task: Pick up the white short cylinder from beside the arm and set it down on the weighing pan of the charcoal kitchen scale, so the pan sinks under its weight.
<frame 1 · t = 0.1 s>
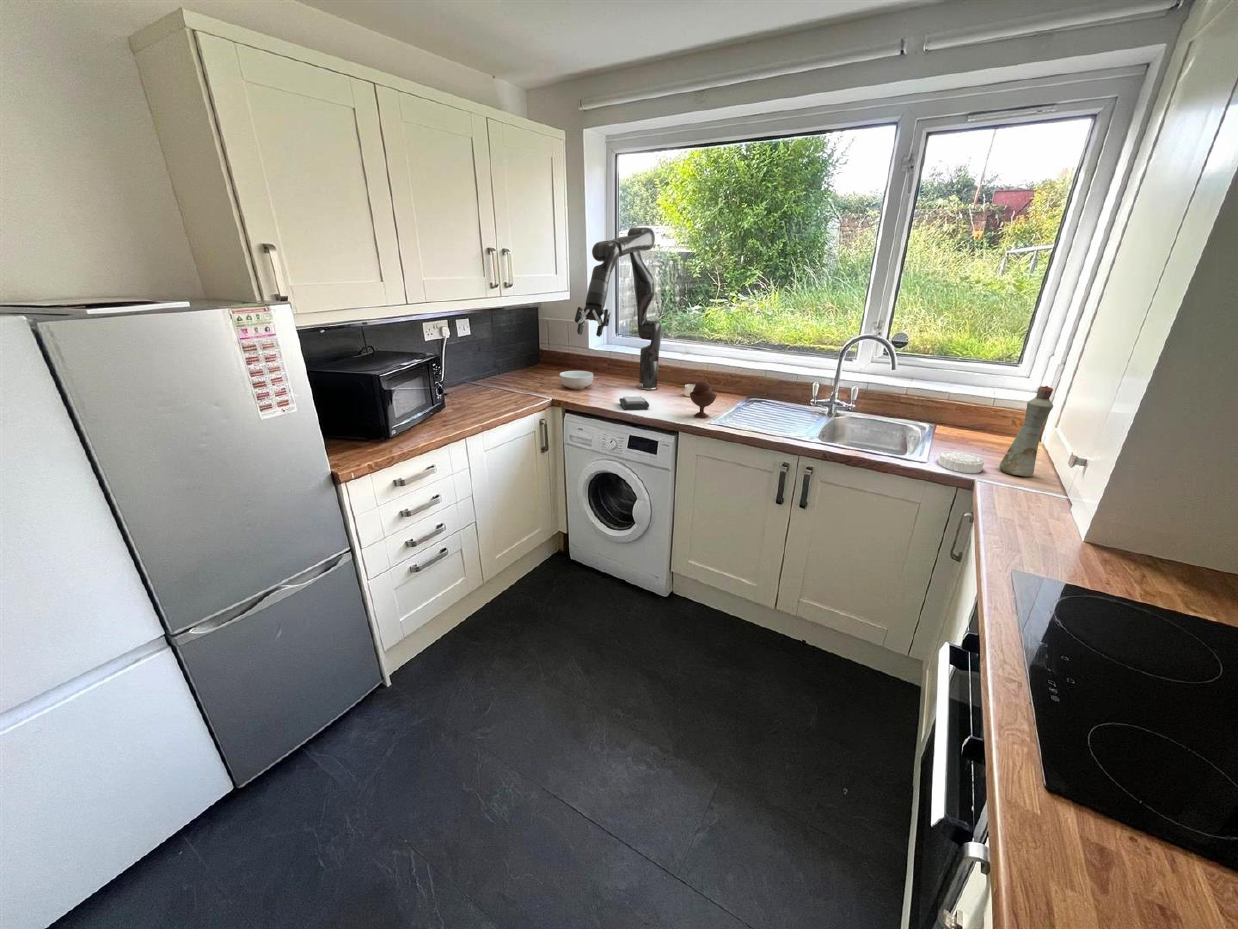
hand: (588, 335, 195), 31 cm above the countertop, tool tilted 20°, fingers open, 8 cm apart
white short cylinder: (690, 395, 240), on the countertop
scale: (633, 406, 218), on the countertop
ice cream bowl: (701, 416, 207), on the countertop
bottle: (1014, 473, 157), on the countertop
cereal bowl: (576, 388, 249), on the countertop
scale pan: (634, 400, 217), point 3 cm above the countertop, slide at 0.0 cm
mooncake: (959, 467, 161), on the countertop
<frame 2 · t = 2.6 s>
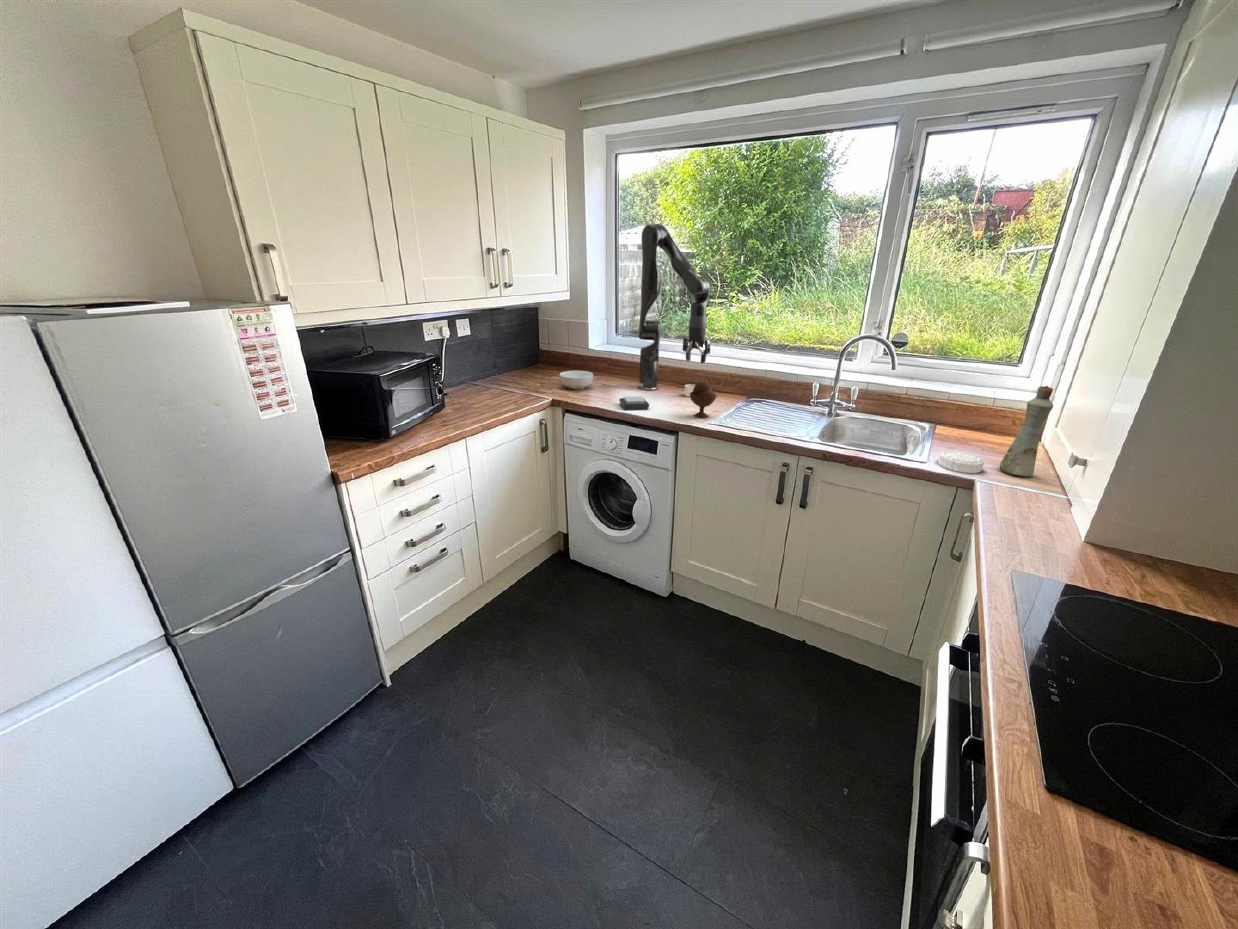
hand: (695, 361, 231), 17 cm above the countertop, tool pointing down, fingers open, 8 cm apart
nothing on the countertop moved.
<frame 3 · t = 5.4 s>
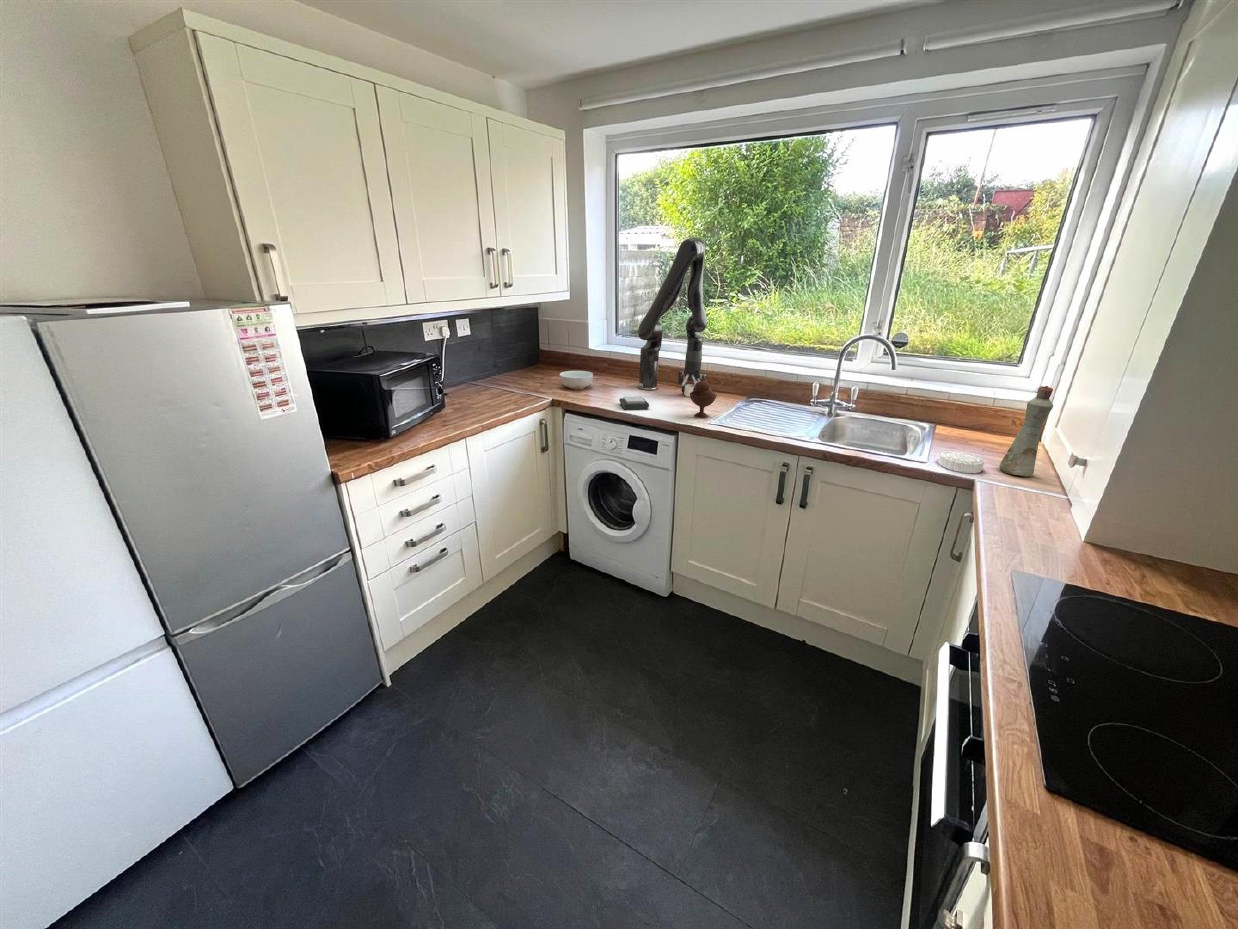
hand: (690, 394, 240), 1 cm above the countertop, tool pointing down, fingers closed on white short cylinder, 6 cm apart
white short cylinder: (690, 395, 240), on the countertop, touching gripper
everything else where it was.
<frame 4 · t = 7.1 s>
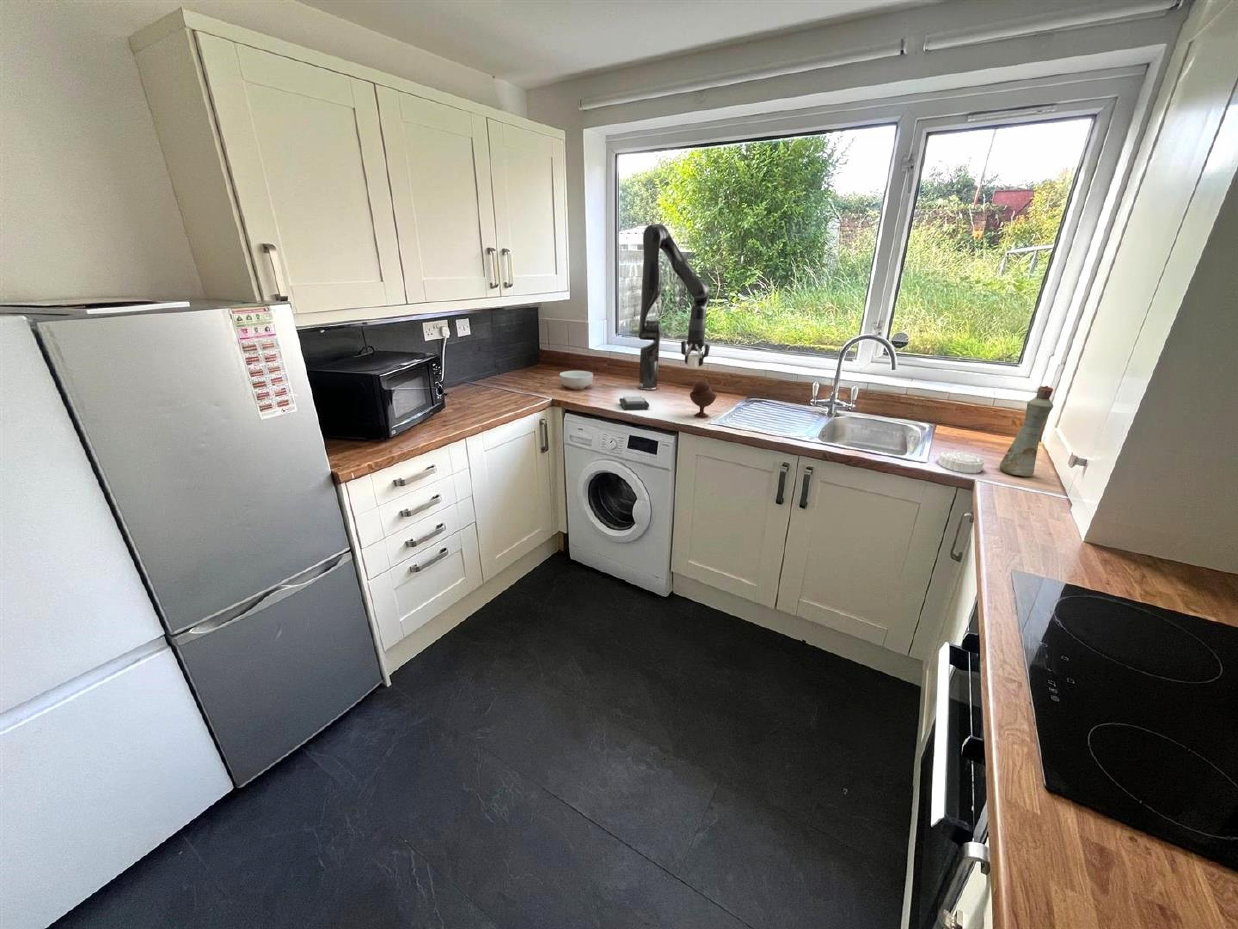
hand: (693, 364, 236), 15 cm above the countertop, tool pointing down, fingers closed on white short cylinder, 6 cm apart
white short cylinder: (693, 366, 236), point 14 cm above the countertop, touching gripper
everything else where it was.
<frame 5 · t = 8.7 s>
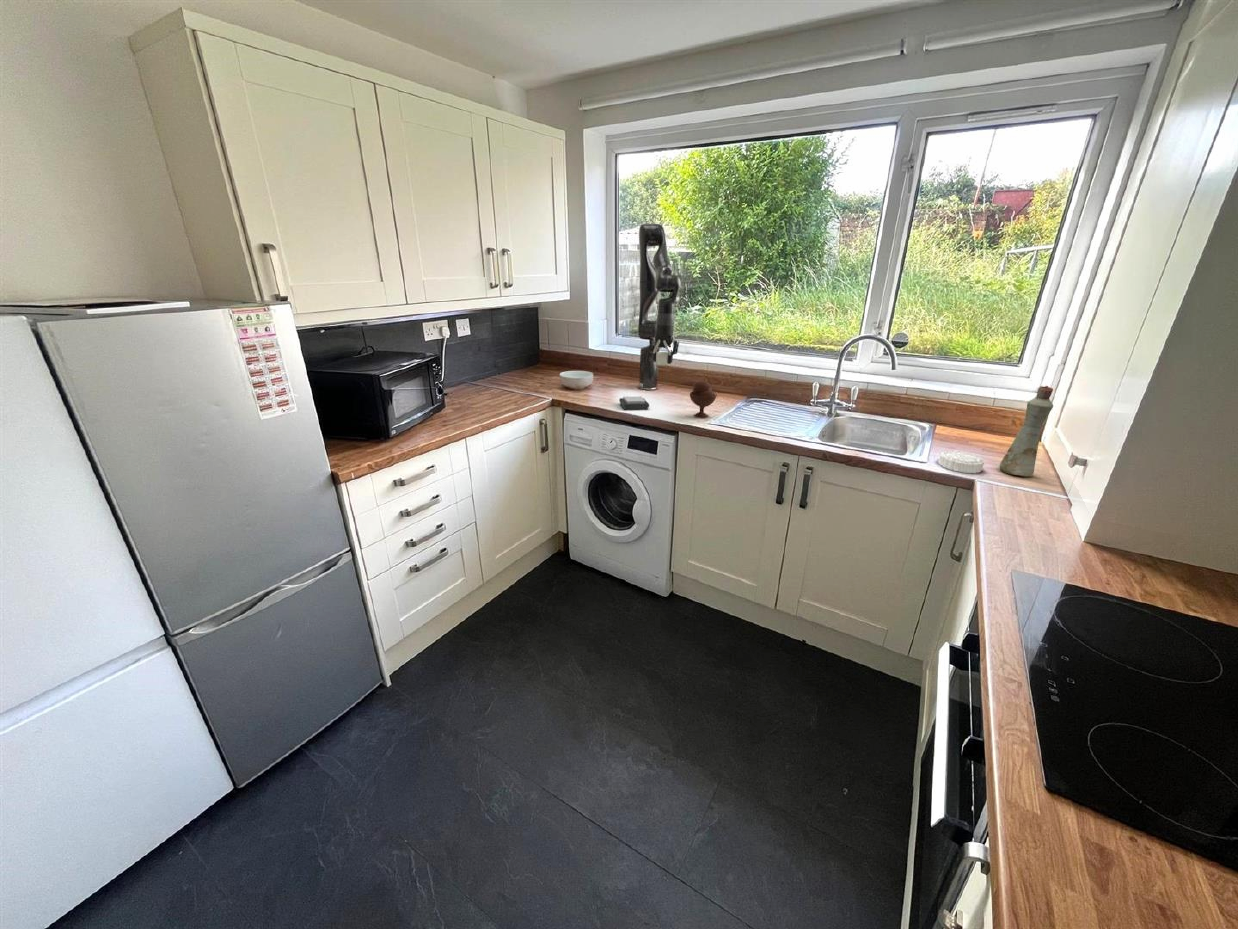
hand: (662, 362, 221), 18 cm above the countertop, tool pointing down, fingers closed on white short cylinder, 6 cm apart
white short cylinder: (662, 364, 221), point 17 cm above the countertop, touching gripper
everything else where it was.
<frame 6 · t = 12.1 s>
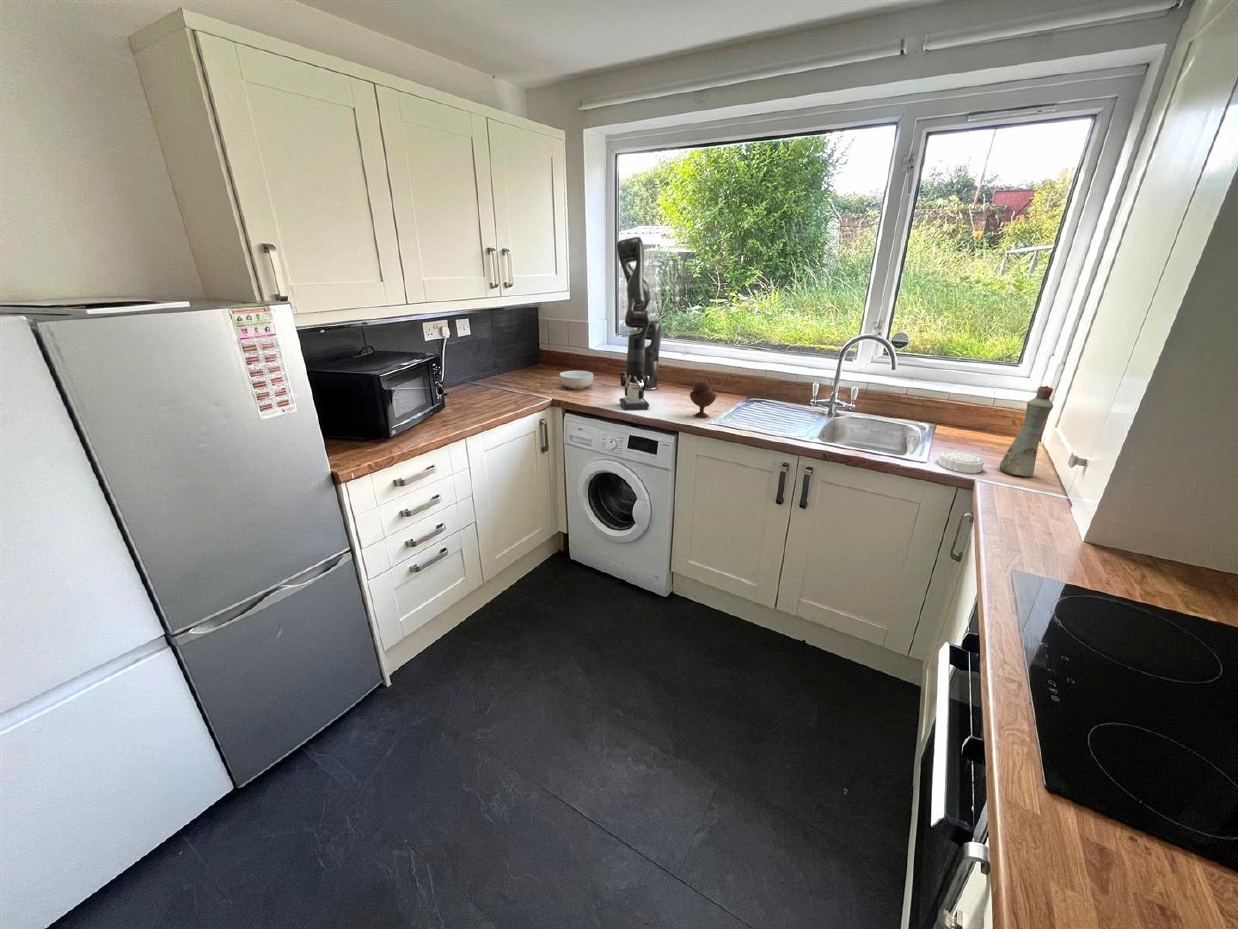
hand: (634, 397, 217), 4 cm above the countertop, tool pointing down, fingers closed on white short cylinder, 6 cm apart
white short cylinder: (634, 399, 217), point 3 cm above the countertop, touching gripper, scale pan
scale pan: (634, 401, 217), point 3 cm above the countertop, slide at -0.3 cm, touching white short cylinder
everything else where it was.
when the fingers open (4 cm above the countertop, at t = 12.4 s): white short cylinder stays where it is, resting on scale pan.
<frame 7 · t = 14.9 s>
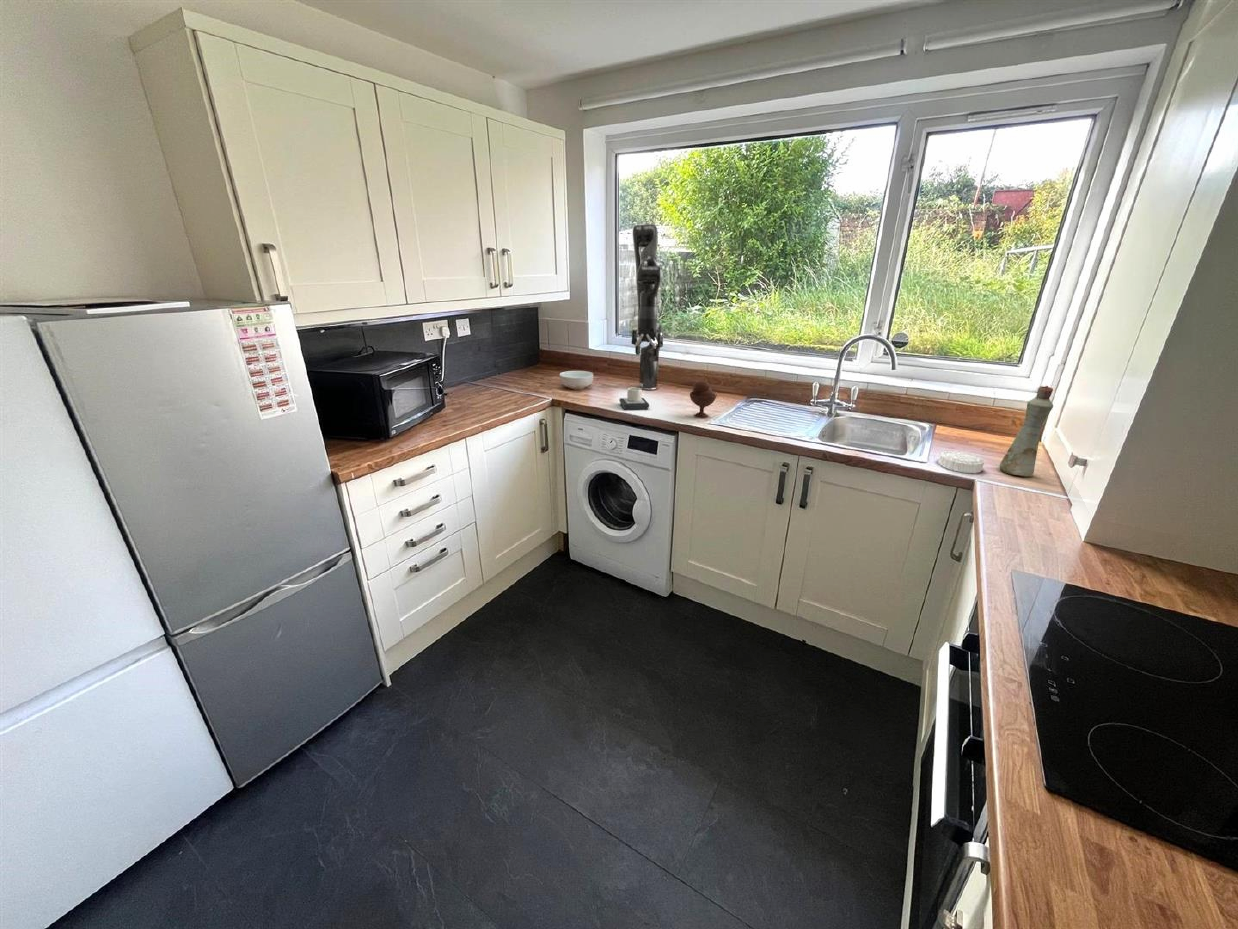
hand: (646, 356, 215), 21 cm above the countertop, tool pointing down, fingers open, 8 cm apart
white short cylinder: (634, 400, 217), point 3 cm above the countertop, touching scale pan
scale pan: (634, 401, 217), point 2 cm above the countertop, slide at -0.7 cm, touching white short cylinder
everything else where it was.
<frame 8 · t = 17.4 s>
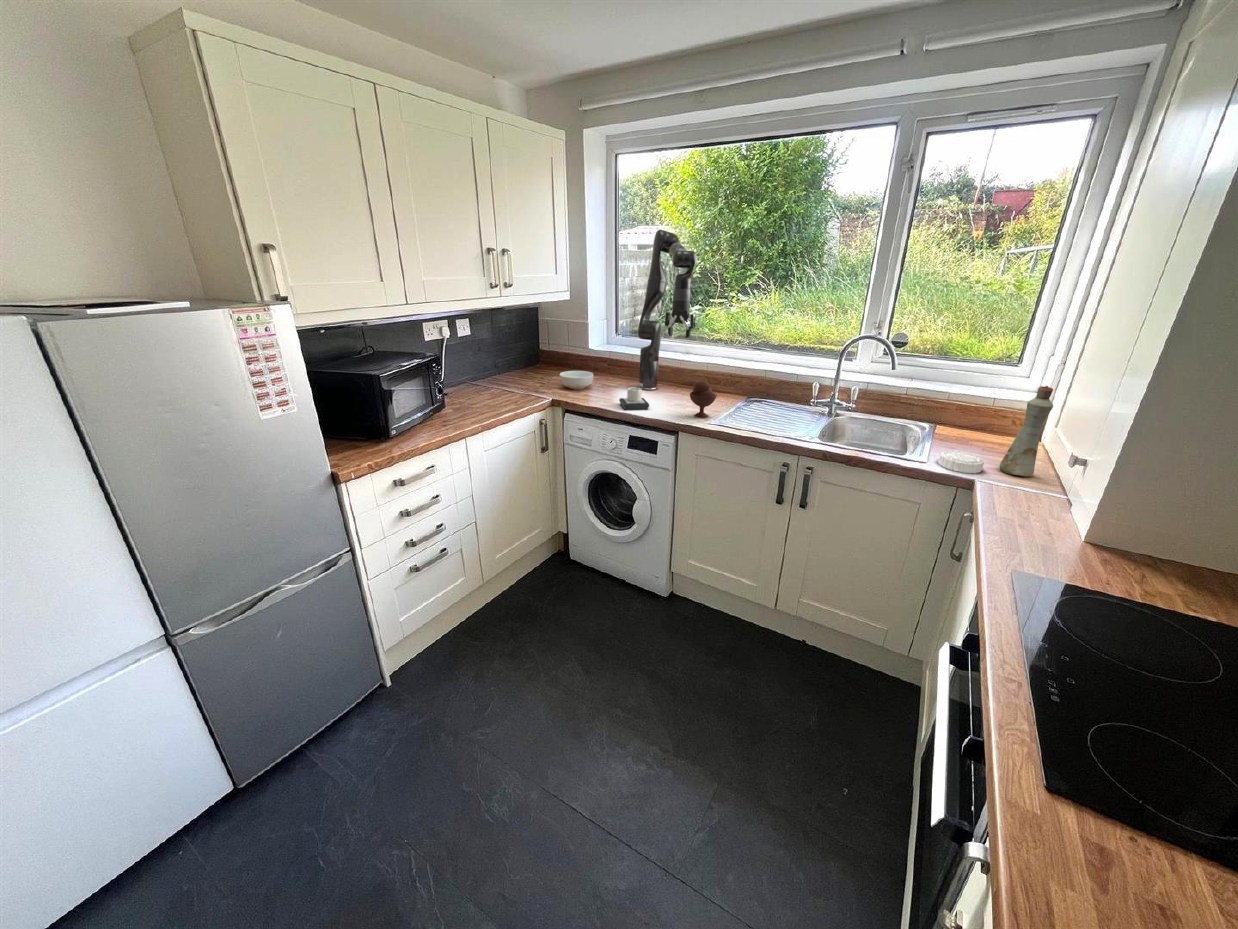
hand: (678, 336, 226), 28 cm above the countertop, tool pointing down, fingers open, 8 cm apart
nothing on the countertop moved.
at the end: white short cylinder 0.1 cm off-centre on the scale, point 2.9 cm above the scale's base; white short cylinder tilted 0°; scale pan slide at -0.7 cm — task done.
